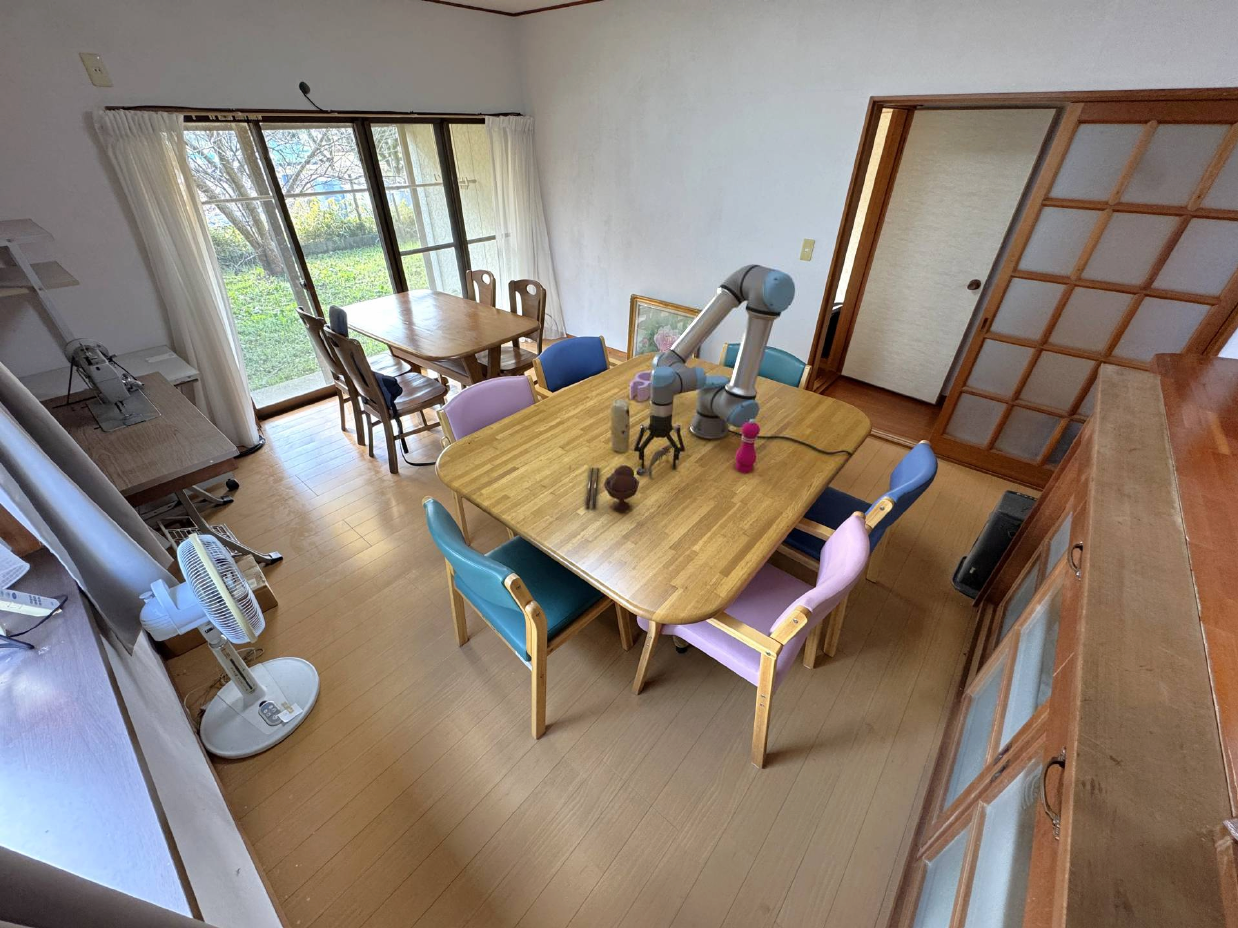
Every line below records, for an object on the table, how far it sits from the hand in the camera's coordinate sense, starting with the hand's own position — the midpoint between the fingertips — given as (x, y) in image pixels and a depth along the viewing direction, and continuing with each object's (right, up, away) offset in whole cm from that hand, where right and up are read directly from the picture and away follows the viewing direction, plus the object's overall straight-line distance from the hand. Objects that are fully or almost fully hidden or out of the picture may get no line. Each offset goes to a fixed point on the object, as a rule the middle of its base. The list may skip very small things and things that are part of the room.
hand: (658, 466), depth 174 cm
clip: (-2, +35, +53) cm, 63 cm away
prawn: (0, 0, 0) cm, 0 cm away
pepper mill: (+31, -1, 0) cm, 31 cm away
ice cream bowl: (-13, -13, -19) cm, 26 cm away
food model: (-14, +7, +11) cm, 19 cm away
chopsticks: (-23, -7, -10) cm, 26 cm away
